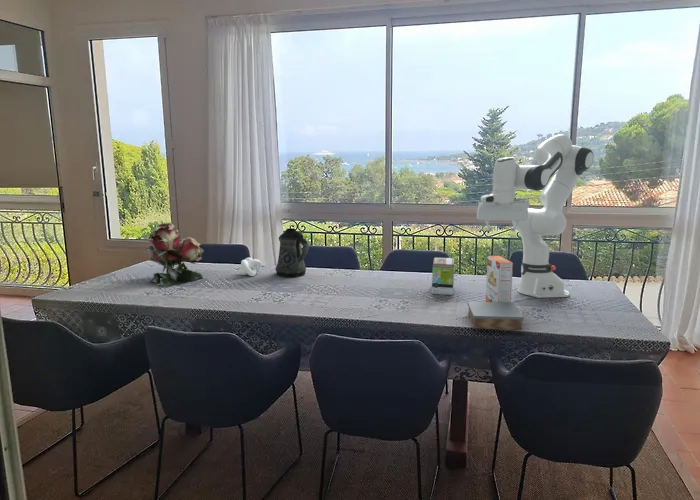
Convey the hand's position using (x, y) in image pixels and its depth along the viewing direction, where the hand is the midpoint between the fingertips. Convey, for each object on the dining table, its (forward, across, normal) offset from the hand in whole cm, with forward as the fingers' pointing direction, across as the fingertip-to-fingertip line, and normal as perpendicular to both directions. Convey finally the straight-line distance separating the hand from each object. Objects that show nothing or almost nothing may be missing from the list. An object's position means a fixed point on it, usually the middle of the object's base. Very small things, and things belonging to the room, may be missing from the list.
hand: (501, 231), depth 204 cm
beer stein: (+33, +99, -50) cm, 116 cm away
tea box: (+33, +21, -24) cm, 46 cm away
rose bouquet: (+33, +160, -34) cm, 167 cm away
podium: (+33, +5, +19) cm, 38 cm away
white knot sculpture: (+33, +123, -47) cm, 136 cm away
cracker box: (+33, 0, 0) cm, 33 cm away
